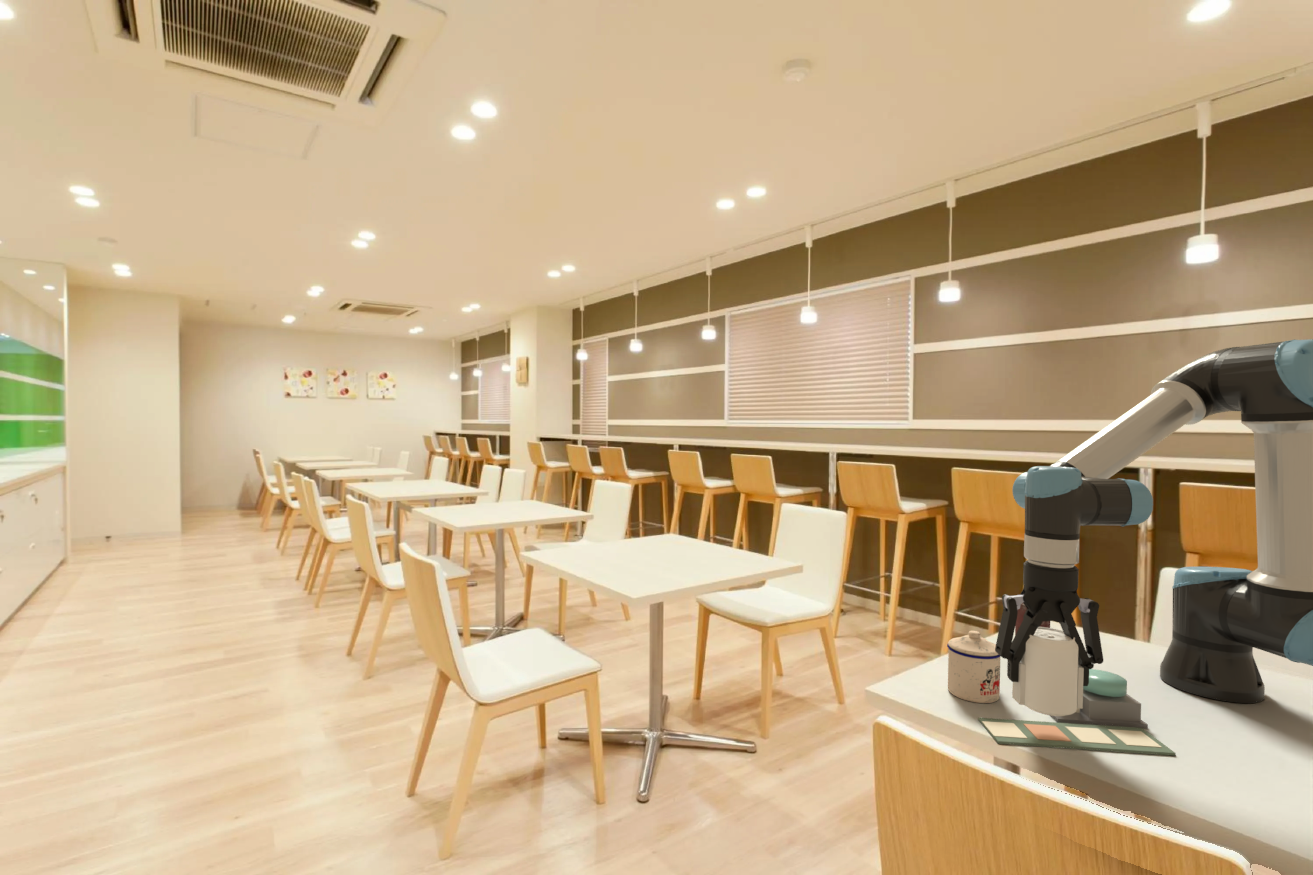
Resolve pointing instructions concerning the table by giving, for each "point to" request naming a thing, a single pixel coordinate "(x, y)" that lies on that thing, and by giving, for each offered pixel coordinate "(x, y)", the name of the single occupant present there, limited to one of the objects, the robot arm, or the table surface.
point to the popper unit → (1106, 711)
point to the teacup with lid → (973, 668)
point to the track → (1074, 736)
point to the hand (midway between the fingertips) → (1046, 702)
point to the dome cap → (1106, 684)
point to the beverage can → (1051, 672)
